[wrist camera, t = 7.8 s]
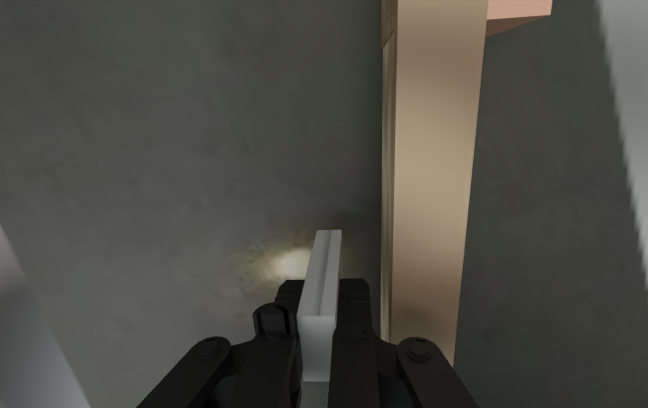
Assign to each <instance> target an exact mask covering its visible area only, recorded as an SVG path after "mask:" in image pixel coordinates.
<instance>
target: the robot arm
mask: <svg viewBox="0 0 648 408" xmlns="http://www.w3.org/2000/svg"><path fill="white" fill-rule="evenodd" d="M253 321H254V327H255V333H256V336H255V338H254V339H253V340H251V341H248V342H245V343H241V344H237V345H233V346H231V344H230V342H229V341H228V339H226V338H223V337H216V336H214V337H210V338H206V339H204V340H202V341H200V342H198V343H197V344H196V345H194V346H193V347H192V348H191V349H190V350H189V351H188V352H187V354H186V355H185V356H184V357H183V358H182V359H181V360H180V361H179V362H178V363H177V364H176V365H175V366H174V368H173V369H172V370H171V371H170V372H169V373H168V374H167V375H166V376H165V377H164V378H163V379H162V380H161V381H160V383H159V384H158V385H157V386H156V387H155V388H154V389H153V390H152V391H151V392H150V393H149V394H148V395H147V397H146V398H145V399H144V400H143V401H142V402H141V403H140V404H139V405H138V406H137V407H136V408H299V407H300V401H301V396H302V394H301V377H302V372H303V381H317V382H329V396H328V408H479V407H478V405H477V404H476V402H475V401H474V399H473V398H472V396H471V395H470V393H469V392H468V390H467V389H466V387H465V386H464V384H463V383H462V381H461V380H460V378H459V377H458V375H457V374H456V372H455V371H454V369H453V368H452V366H451V365H450V363H449V362H448V360H447V359H446V357H445V356H444V354H443V353H442V351H441V350H440V348H439V347H438V346H437V345H436V344H435V343H434V342H432V341H430V340H428V339H426V338H421V337H409V338H406V339H403V340H402V341H401V342H400V343H399V344H398V345H396V344H392V343H389V342H386V341H384V340H382V339H380V338H379V337H378V336H377V335H376V334H375V333H374V331H373V329H372V321H371V307H370V294H369V285H368V284H367V282H366V281H365V280H364V279H344V270H343V249H342V230H317V232H316V236H315V240H314V245H313V249H312V253H311V257H310V261H309V266H308V270H307V274H306V278H305V280H286V281H285V282H284V283H283V284H282V285H281V286H280V287H279V290H278V293H277V297H276V298H275V301H274V302H272V303H267V304H265V305H262V306H260V307H259V308H258V309H256V310H255V312H254V313H253Z"/></svg>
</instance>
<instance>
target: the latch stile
mask: <svg viewBox="0 0 648 408" xmlns="http://www.w3.org/2000/svg"><path fill="white" fill-rule="evenodd" d="M551 6H552V0H489V1H488V11H487V21H486V32H485V38H486V37H489V36H491V35H494V34H497V33H500V32H503V31H506V30H509V29H511V28H514V27H517V26H520V25H523V24H526V23H528V22H531V21H534V20H537V19H540V18H543V17H546V16H548V15H550V13H551Z"/></svg>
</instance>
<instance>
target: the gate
mask: <svg viewBox="0 0 648 408" xmlns="http://www.w3.org/2000/svg"><path fill="white" fill-rule="evenodd" d="M488 1H489V0H382V1H381V49H383V101H382V224H381V339H382V340H384V341H386V342H389V343H392V344H396V345H398V344H399V343H400V342H401V341H402V340H403V339H406V338H409V337H421V338H426V339H428V340H430V341H432V342H434V343H435V344H436V345H437V346H438V347H439V348H440V350H441V351H442V353H443V354H444V356H445V357H446V359H447V360H448V362H449V363H450V365H451V366H452V368H453V361H454V351H455V340H456V330H457V320H458V309H459V299H460V289H461V279H462V268H463V258H464V248H465V237H466V227H467V217H468V207H469V196H470V186H471V176H472V165H473V155H474V145H475V135H476V124H477V114H478V104H479V93H480V83H481V73H482V63H483V52H484V42H485V32H486V21H487V11H488Z"/></svg>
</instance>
